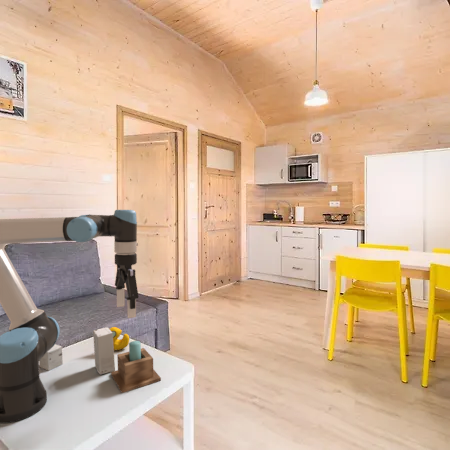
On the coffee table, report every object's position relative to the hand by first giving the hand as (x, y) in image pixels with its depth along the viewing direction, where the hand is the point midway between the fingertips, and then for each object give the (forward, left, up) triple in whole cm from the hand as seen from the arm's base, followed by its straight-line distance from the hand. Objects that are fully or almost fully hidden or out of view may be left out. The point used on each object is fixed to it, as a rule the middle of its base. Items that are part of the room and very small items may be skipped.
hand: (125, 311), depth 117 cm
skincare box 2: (-5, +12, -25) cm, 28 cm away
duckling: (+3, +26, -25) cm, 36 cm away
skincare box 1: (-22, +26, -25) cm, 42 cm away
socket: (+3, -1, -25) cm, 25 cm away
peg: (+3, -1, -24) cm, 24 cm away
